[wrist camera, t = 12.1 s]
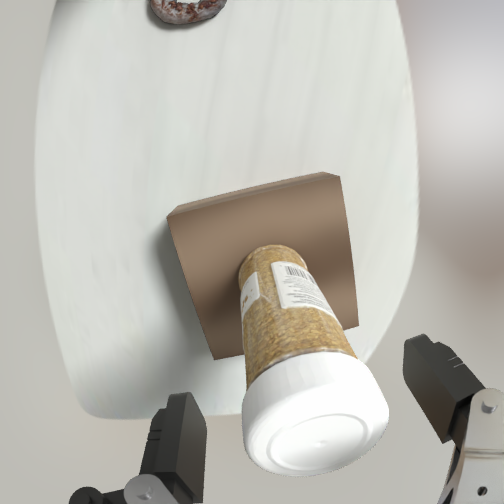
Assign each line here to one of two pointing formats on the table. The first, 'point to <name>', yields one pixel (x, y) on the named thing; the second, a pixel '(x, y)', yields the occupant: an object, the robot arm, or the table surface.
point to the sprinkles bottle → (301, 373)
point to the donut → (186, 10)
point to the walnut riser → (258, 235)
